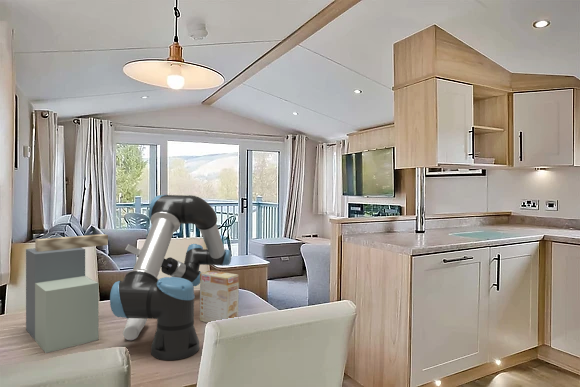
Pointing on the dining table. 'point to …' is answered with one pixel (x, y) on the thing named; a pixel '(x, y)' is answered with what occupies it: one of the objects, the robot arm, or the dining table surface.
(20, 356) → the dining table surface
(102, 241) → the wooden bar
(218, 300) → the coffeecake box
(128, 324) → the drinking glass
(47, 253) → the two-tone stepped block
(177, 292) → the robot arm
